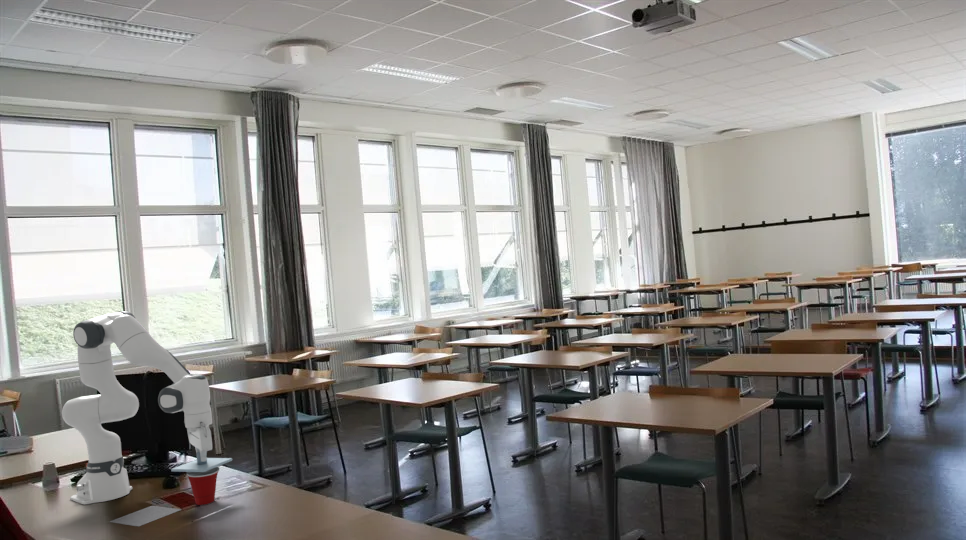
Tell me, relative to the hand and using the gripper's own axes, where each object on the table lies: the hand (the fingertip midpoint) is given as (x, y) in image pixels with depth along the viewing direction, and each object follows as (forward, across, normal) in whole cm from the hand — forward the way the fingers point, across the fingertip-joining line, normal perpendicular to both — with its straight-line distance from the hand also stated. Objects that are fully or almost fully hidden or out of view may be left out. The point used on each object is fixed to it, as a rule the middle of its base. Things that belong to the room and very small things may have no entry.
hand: (201, 460), depth 240 cm
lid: (+2, 0, 0) cm, 2 cm away
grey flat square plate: (+15, +2, +19) cm, 24 cm away
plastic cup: (+16, 0, 0) cm, 16 cm away
